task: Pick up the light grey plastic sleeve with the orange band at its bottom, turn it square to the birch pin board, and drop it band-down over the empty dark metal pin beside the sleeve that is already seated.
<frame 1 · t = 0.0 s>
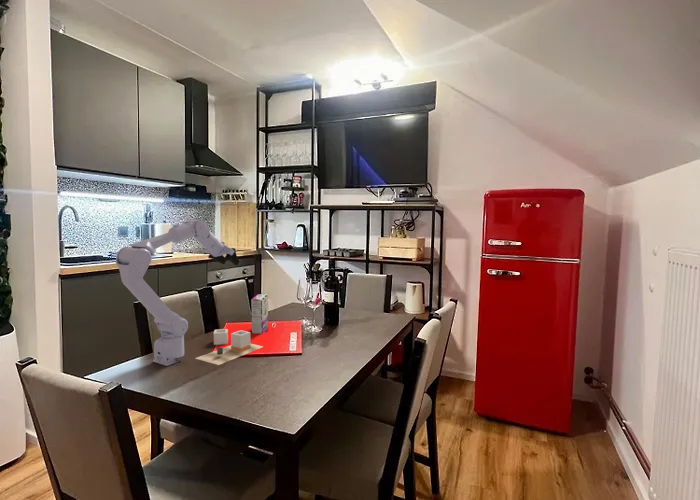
hand: (231, 262, 159), 32 cm above the table, tool tilted 50°, fingers open, 7 cm apart
candy bar box: (260, 333, 170), on the table
seated sleeve: (240, 348, 146), point 1 cm above the table, touching pin board
pin board: (230, 356, 141), on the table
loose sleeve: (221, 345, 153), on the table
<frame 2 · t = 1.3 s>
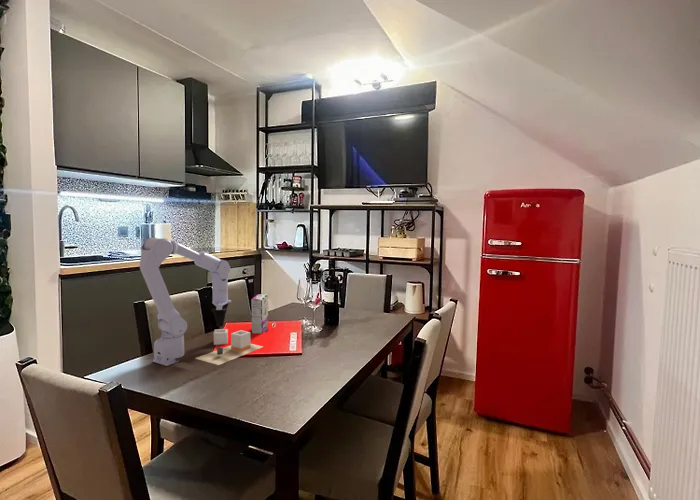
hand: (220, 323, 152), 9 cm above the table, tool pointing down, fingers open, 7 cm apart
nothing on the table moved.
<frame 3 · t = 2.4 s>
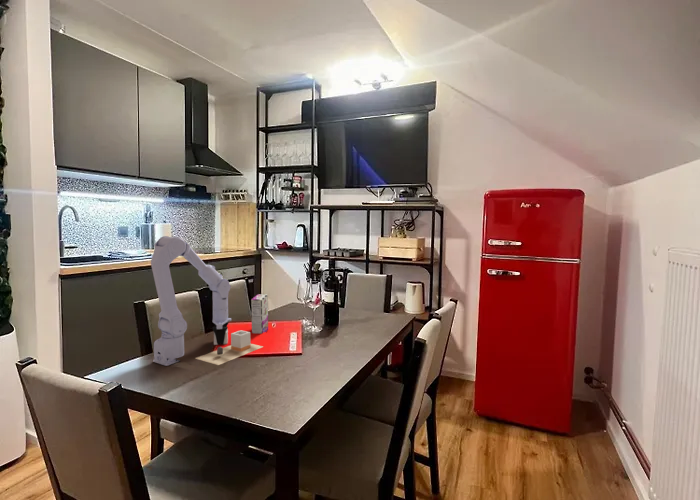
hand: (221, 341, 152), 2 cm above the table, tool pointing down, fingers closed on loose sleeve, 5 cm apart
loose sleeve: (221, 345, 153), on the table, touching gripper
everything else where it was.
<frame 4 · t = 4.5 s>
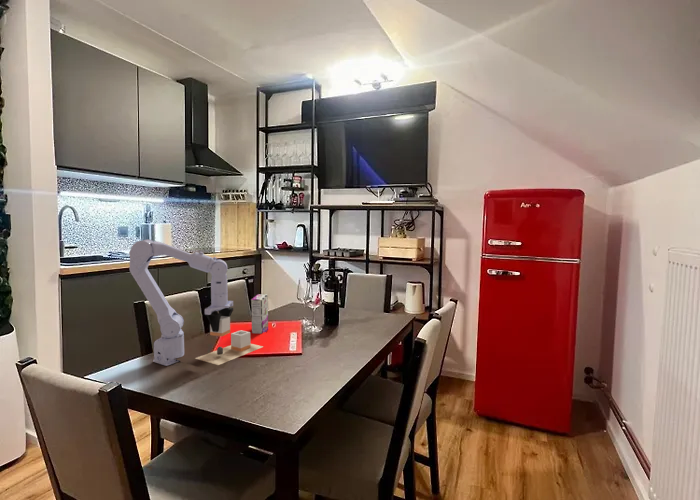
hand: (220, 329, 141), 10 cm above the table, tool pointing down, fingers closed on loose sleeve, 5 cm apart
loose sleeve: (220, 333, 141), point 8 cm above the table, touching gripper
everything else where it was.
when the fingers open (4 cm above the table, at t = 6.7 s): loose sleeve drops 1 cm, resting on pin board.
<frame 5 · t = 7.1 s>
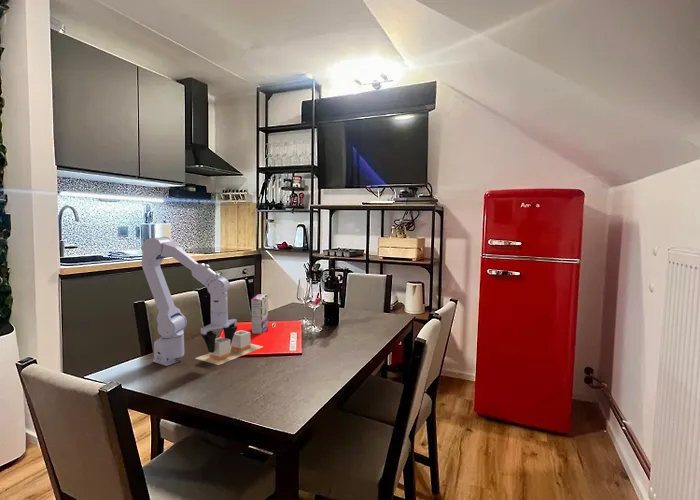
hand: (219, 348, 137), 4 cm above the table, tool pointing down, fingers open, 7 cm apart
loose sleeve: (220, 356, 137), point 1 cm above the table, touching pin board
everything else where it was.
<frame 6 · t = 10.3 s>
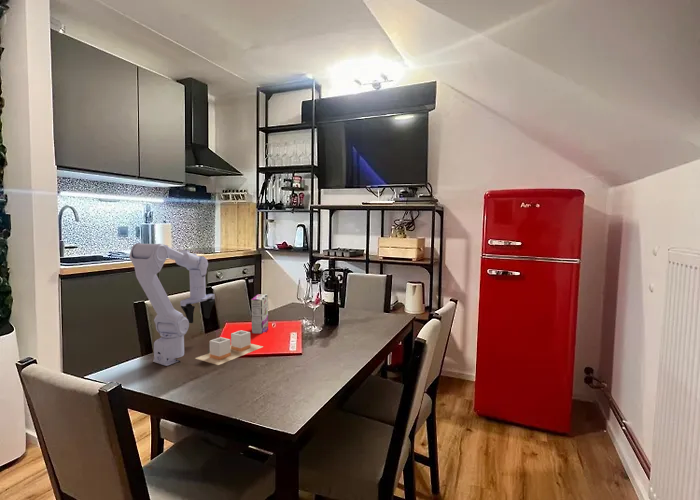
hand: (198, 320, 151), 10 cm above the table, tool pointing down, fingers open, 7 cm apart
nothing on the table moved.
at the end: loose sleeve 0.1 cm from the target spot on the pin board, point 1.5 cm above the pin board's base; loose sleeve tilted 0°; the gripper is holding nothing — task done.
